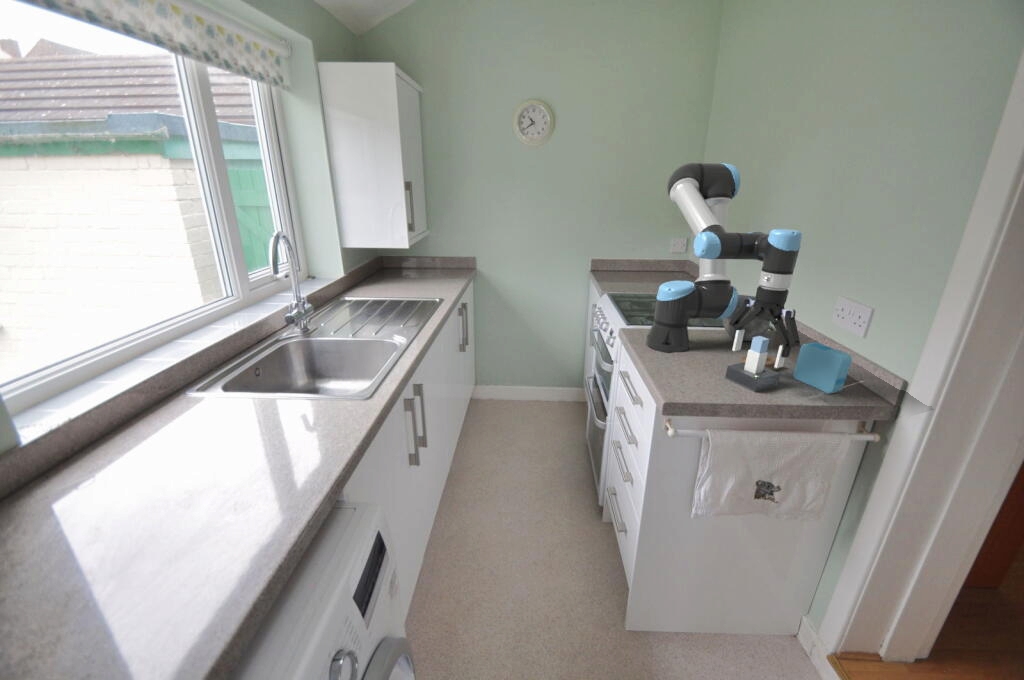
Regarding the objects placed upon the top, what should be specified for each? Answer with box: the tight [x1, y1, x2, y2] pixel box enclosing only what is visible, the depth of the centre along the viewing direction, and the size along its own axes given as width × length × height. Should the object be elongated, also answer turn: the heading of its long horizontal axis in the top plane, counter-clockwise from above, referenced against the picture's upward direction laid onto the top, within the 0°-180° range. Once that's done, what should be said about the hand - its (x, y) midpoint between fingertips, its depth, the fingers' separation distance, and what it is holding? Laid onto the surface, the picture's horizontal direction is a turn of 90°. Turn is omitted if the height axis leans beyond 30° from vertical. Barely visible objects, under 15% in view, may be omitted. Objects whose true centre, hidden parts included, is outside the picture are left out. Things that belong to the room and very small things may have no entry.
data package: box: [792, 341, 853, 395], centre depth 127 cm, size 12×4×12 cm, turn 22°
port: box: [724, 362, 781, 393], centre depth 129 cm, size 10×10×5 cm
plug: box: [744, 336, 770, 374], centre depth 127 cm, size 4×4×13 cm
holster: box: [740, 354, 781, 371], centre depth 141 cm, size 8×8×3 cm
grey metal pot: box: [722, 294, 771, 342], centre depth 165 cm, size 18×18×15 cm
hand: (756, 358), depth 126 cm, fingers open, 13 cm apart
